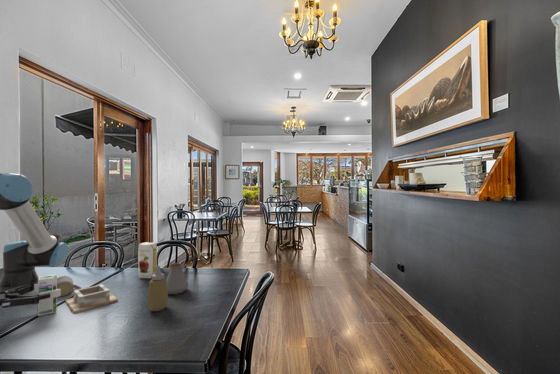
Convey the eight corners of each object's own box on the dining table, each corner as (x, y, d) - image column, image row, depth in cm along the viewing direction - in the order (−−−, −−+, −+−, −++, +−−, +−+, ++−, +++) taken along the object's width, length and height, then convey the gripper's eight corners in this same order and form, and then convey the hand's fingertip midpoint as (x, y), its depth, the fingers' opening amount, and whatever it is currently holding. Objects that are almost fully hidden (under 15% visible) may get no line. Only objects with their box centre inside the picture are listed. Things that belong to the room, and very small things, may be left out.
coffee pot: (175, 297, 128) (176, 265, 128) (157, 293, 133) (157, 262, 133) (206, 283, 147) (206, 255, 147) (189, 280, 152) (189, 252, 152)
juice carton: (144, 274, 162) (145, 241, 161) (158, 274, 160) (158, 242, 160) (136, 278, 154) (136, 244, 154) (150, 279, 153) (150, 244, 153)
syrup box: (37, 316, 108) (37, 279, 108) (39, 311, 113) (39, 275, 113) (56, 312, 112) (56, 277, 112) (57, 307, 117) (57, 273, 116)
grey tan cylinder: (53, 298, 126) (54, 281, 126) (52, 293, 132) (53, 277, 132) (82, 293, 133) (82, 277, 133) (80, 288, 139) (80, 273, 139)
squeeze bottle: (147, 314, 111) (147, 269, 111) (146, 306, 118) (147, 264, 118) (168, 310, 115) (169, 267, 115) (167, 303, 122) (167, 262, 122)
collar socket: (65, 301, 122) (65, 290, 122) (106, 291, 134) (106, 281, 134) (73, 313, 112) (73, 300, 112) (117, 301, 123) (117, 290, 123)
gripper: (-19, 303, 108) (51, 289, 123) (-18, 326, 91) (63, 306, 106) (-19, 284, 108) (52, 272, 123) (-18, 303, 91) (63, 286, 106)
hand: (57, 287), depth 115 cm, fingers open, 13 cm apart
